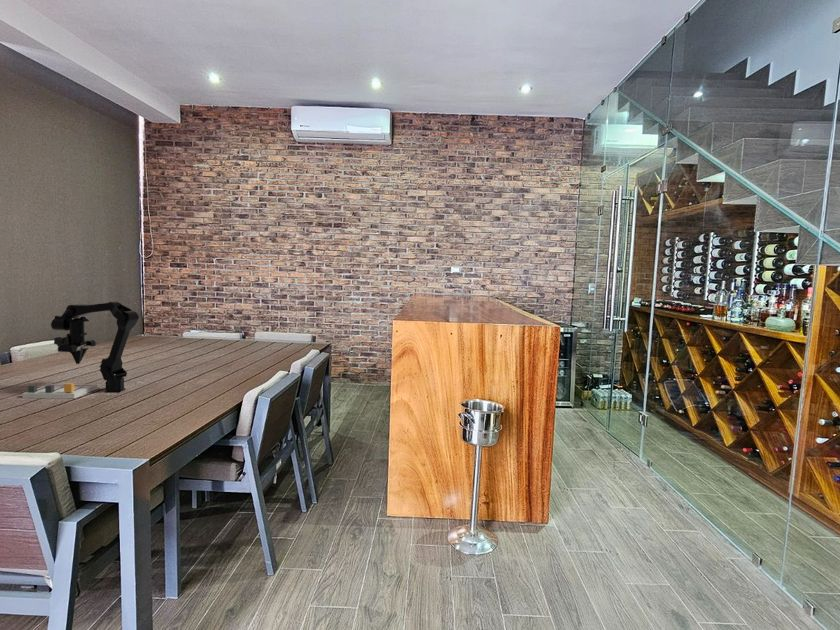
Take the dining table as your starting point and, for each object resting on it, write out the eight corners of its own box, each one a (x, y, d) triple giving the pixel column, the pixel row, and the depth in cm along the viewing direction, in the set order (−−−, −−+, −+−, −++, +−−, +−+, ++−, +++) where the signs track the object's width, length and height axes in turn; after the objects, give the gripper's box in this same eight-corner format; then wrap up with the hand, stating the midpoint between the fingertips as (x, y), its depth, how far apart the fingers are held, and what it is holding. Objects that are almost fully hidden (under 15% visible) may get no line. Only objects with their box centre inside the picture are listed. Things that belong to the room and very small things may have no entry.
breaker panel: (97, 388, 218) (97, 378, 218) (74, 398, 202) (74, 387, 201) (49, 388, 216) (49, 377, 216) (22, 397, 199) (22, 386, 199)
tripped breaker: (74, 391, 205) (74, 383, 204) (71, 392, 203) (71, 384, 202) (67, 390, 204) (66, 383, 204) (64, 392, 202) (63, 384, 202)
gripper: (71, 328, 223) (72, 359, 224) (44, 333, 204) (45, 367, 206) (95, 328, 224) (96, 360, 226) (71, 333, 206) (72, 368, 207)
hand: (77, 363), depth 216 cm, fingers closed
